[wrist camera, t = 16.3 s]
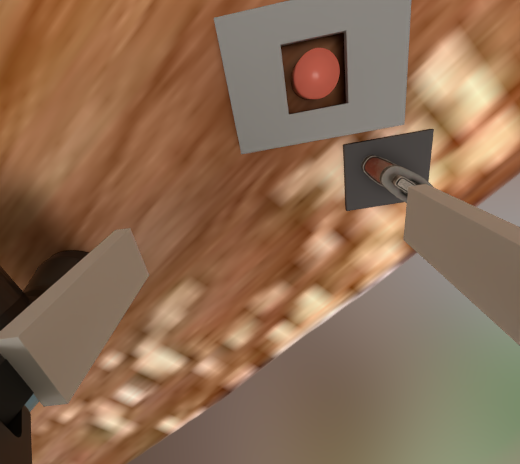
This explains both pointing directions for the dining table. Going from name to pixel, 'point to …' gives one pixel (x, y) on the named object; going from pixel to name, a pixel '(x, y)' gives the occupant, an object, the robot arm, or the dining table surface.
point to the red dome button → (315, 74)
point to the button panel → (307, 28)
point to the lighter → (391, 176)
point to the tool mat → (392, 149)
